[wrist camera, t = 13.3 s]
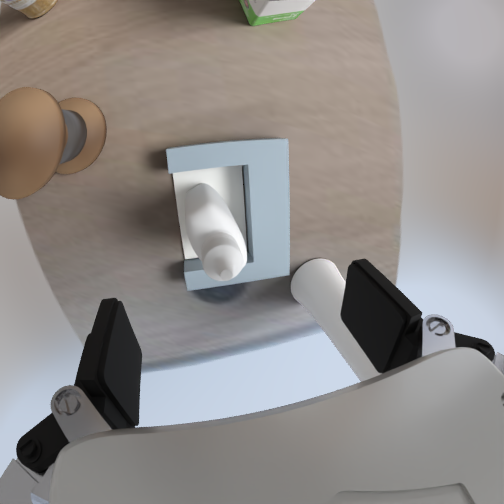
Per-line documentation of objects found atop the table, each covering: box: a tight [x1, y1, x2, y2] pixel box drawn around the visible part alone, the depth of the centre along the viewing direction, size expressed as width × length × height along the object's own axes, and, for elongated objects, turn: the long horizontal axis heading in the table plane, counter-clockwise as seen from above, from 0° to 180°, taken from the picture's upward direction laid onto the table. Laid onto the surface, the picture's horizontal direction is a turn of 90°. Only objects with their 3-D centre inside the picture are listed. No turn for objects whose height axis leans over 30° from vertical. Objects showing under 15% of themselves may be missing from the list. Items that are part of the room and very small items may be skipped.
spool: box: [0, 87, 106, 199], centre depth 15 cm, size 7×7×10 cm
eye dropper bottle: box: [185, 183, 247, 281], centre depth 20 cm, size 4×6×12 cm
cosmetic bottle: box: [291, 258, 382, 382], centre depth 22 cm, size 6×6×22 cm
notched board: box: [166, 138, 290, 291], centre depth 25 cm, size 13×10×2 cm
